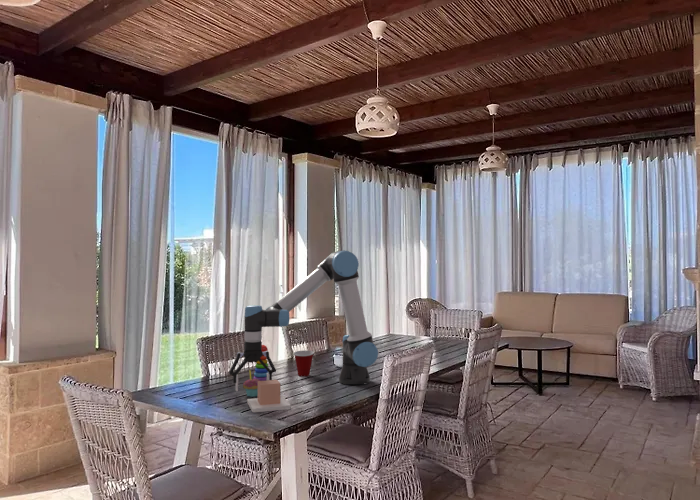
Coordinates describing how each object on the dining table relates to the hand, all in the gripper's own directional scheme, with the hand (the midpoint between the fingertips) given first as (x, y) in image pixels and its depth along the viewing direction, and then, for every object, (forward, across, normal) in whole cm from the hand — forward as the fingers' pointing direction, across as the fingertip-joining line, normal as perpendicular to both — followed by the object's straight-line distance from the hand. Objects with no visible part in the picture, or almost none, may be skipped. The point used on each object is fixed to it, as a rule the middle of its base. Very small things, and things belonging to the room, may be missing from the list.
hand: (252, 389), depth 229 cm
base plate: (+2, -4, +19) cm, 19 cm away
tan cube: (+1, -4, +19) cm, 19 cm away
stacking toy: (+3, -7, -19) cm, 20 cm away
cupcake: (+3, 0, 0) cm, 3 cm away
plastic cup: (+3, -31, -32) cm, 45 cm away
